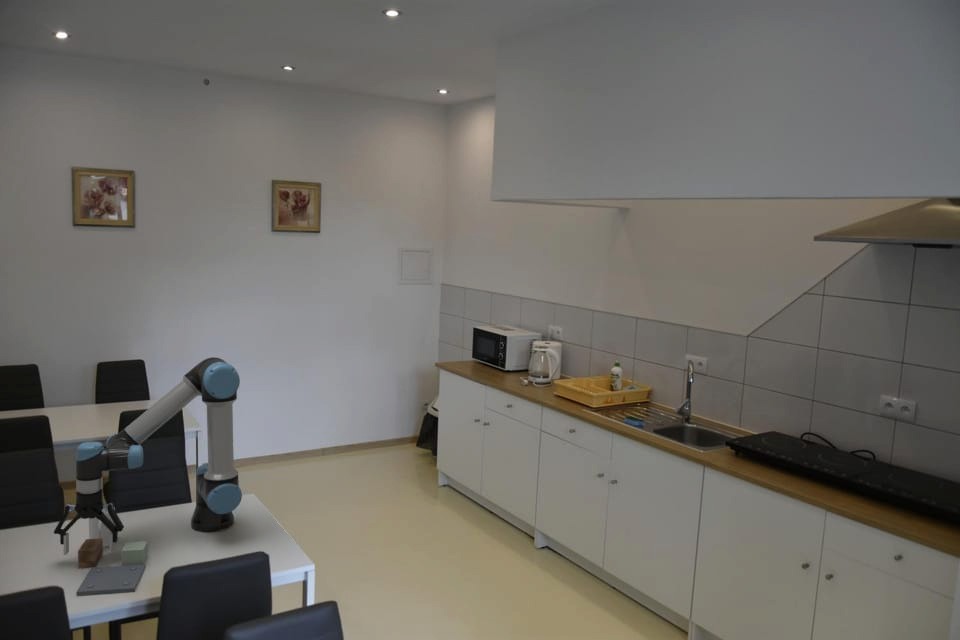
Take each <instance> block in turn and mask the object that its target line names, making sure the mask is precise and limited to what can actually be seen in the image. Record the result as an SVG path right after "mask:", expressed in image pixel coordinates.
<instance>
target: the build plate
mask: <svg viewBox="0 0 960 640" xmlns="http://www.w3.org/2000/svg"><path fill="white" fill-rule="evenodd" d="M145 567H146V563H145V564H138V565H122V564H121V565H110V566H109V565H108V566H96V567H91V568H89V571H88V573H87V574H86V575H85V577H84V579H83V581H82V582H81V583H80V586H78V589H77V591H76V594H75V595H76V596H77V597H78V596H93V595H106V594H121V593H122V592H123V593H130V592H131V593H134V592H136V590H137V587H138V585H139V583H140V580H141V579H142V576H143V574H144V572H145V570H146V568H145ZM144 569H145V570H144ZM135 589H136V590H135Z"/></svg>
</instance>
